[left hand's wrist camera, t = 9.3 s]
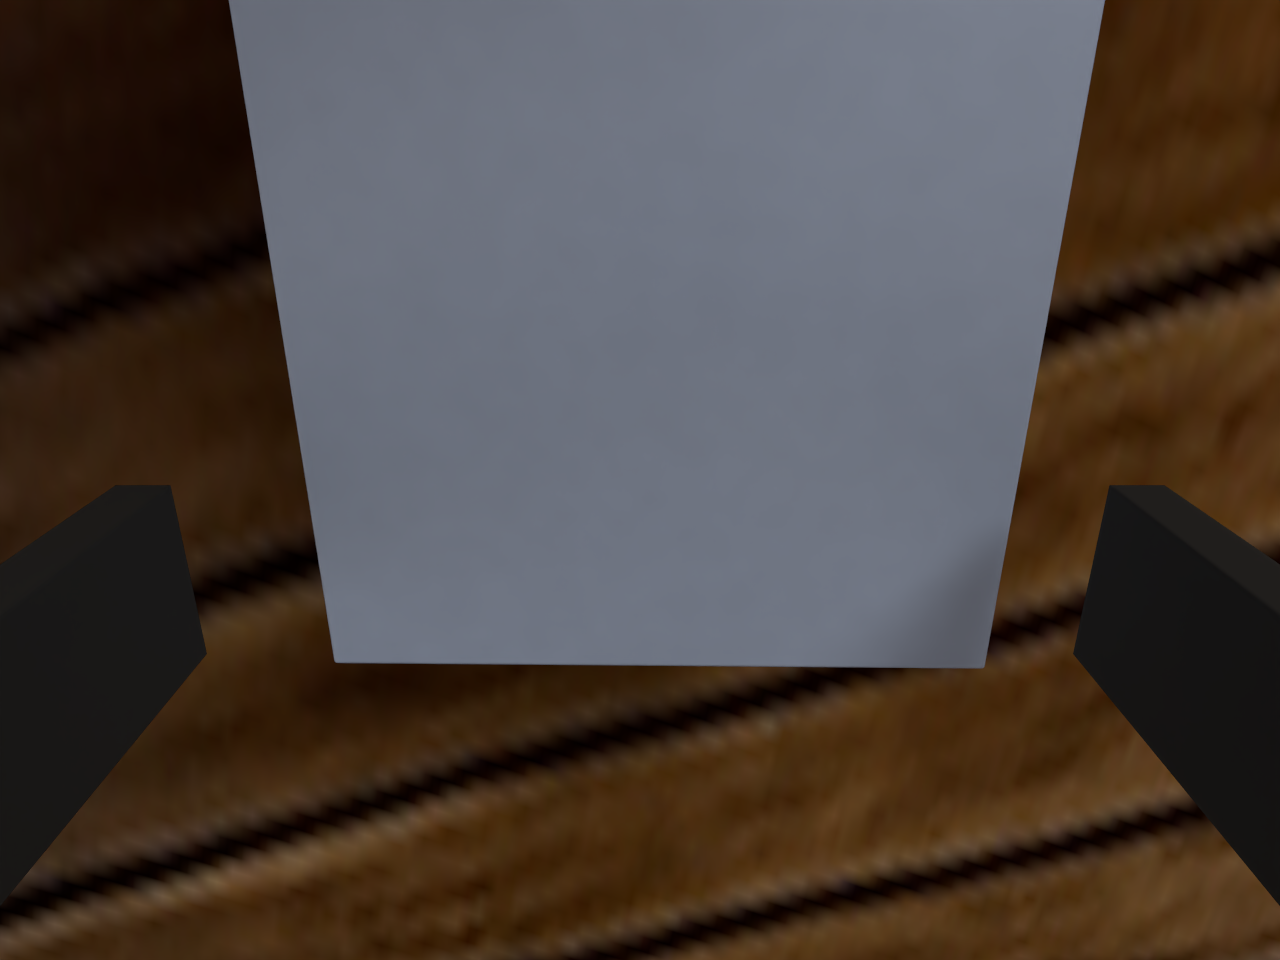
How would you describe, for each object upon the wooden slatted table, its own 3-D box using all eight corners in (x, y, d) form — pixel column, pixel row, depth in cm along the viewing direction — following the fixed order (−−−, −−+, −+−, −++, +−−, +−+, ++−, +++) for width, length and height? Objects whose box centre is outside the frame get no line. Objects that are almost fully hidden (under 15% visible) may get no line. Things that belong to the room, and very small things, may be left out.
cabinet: (366, -433, 17) (66, -1000, 8) (963, -438, 17) (1292, -1021, 8) (448, 465, 24) (333, 664, 15) (865, 468, 24) (985, 670, 15)
